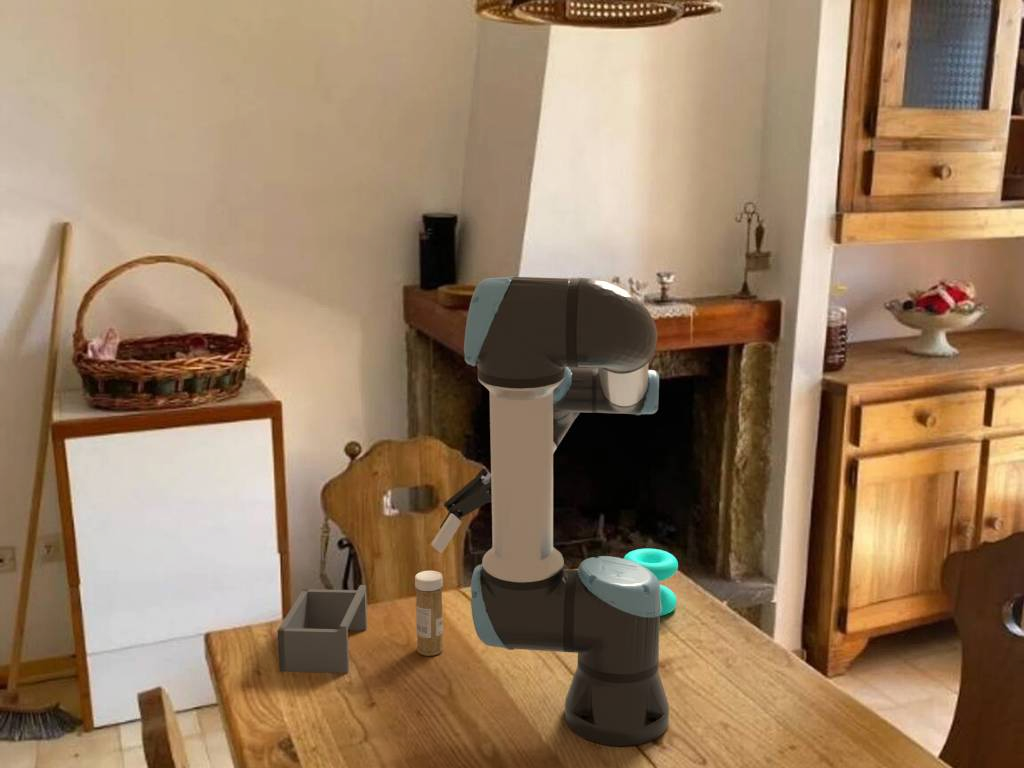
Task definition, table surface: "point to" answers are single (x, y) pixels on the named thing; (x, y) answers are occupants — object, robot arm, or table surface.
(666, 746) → the table surface
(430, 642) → the sprinkles bottle
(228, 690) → the table surface
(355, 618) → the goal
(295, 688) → the table surface
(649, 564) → the donuts
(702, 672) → the table surface
